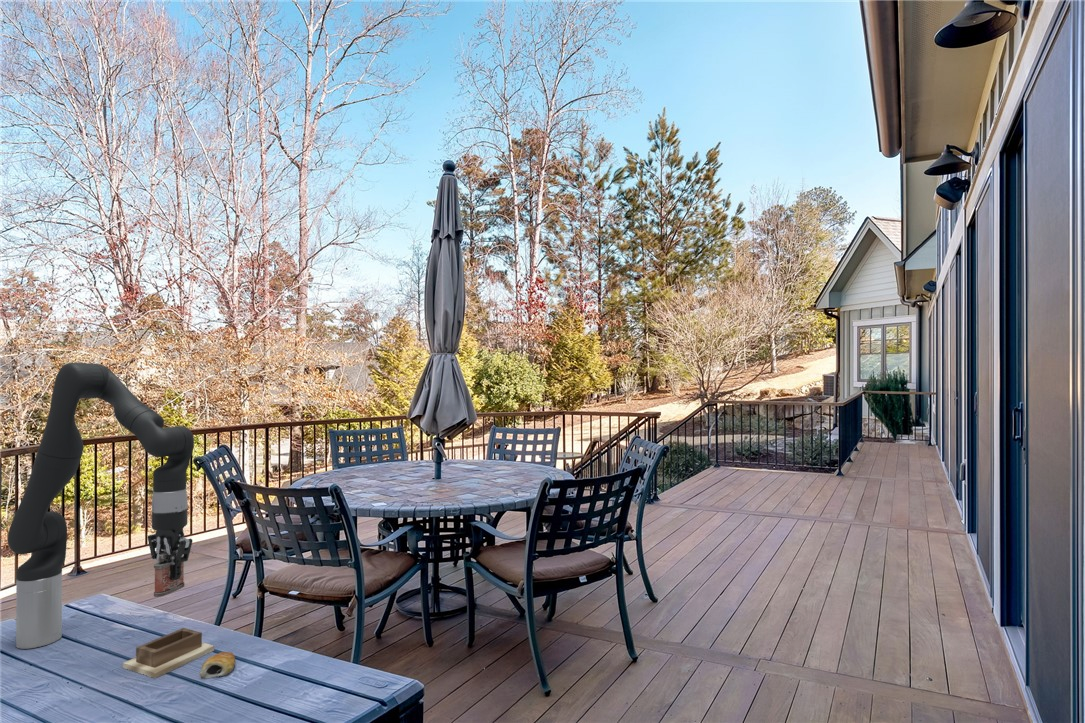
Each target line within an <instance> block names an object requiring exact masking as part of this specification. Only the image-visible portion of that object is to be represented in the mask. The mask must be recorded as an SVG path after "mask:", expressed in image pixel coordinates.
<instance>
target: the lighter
mask: <svg viewBox="0 0 1085 723" xmlns="http://www.w3.org/2000/svg"><path fill="white" fill-rule="evenodd" d="M177 550H178V549H176V550H172V552H174V551H177ZM176 556H177V554H175V559H176ZM159 561H160V562H158V563H157V562H156V563H155V564H153V569H154V591H153V597H154V598H162V597H165V596H167V595H170V594H173V593H175V592H177V591H179V590H181V589H182V588H184V587H185V581H184V580H185V579H184V577H185V575H184V573H185V571H184V570H185V569H184V566H185V565H184V564H185V562H182V563H181V577H180V578H179V579H177V580H170V565H171V563H170V557H169V556H167V551H164V553H163V554H160V555H159Z"/></svg>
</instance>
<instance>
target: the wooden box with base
mask: <svg viewBox="0 0 1085 723" xmlns="http://www.w3.org/2000/svg"><path fill="white" fill-rule="evenodd" d="M135 649H136V651H135V657H134V658H131V659H129V660H127V661H124V662H122V669H125V670H127V669H128V670H127V671H131V672H134V671H135V672H134V673H137V672H138V673H137V674H140V673H141V675H143V674H144V675H143V676H146V675H147V677H150V678H153V679H157V678H159V677H161V676H163V675H165V674H168V673H169V672H172V671H174V670H175V669H178V668H180V667H182V666H184V665H186V664H187V665H188V664H189V663H192V662H193V661H195V660H197V659H199V658H202V657H204V656H205V655H209V654H210V653H212V652H214V651H215V645H212V644H209V643H205V642H203V633H202V631H201V632H200V631H197V630H193V629H189V628H185V627H183V628H180V629H178V630H175V631H173V632H170V633H167V634H165V635H163V636H161V637H159V638H156V639H154V640H151V641H148V642H146V643H144V644H141V645H139V646H136V648H135ZM173 669H174V670H173Z"/></svg>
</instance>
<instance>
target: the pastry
mask: <svg viewBox="0 0 1085 723" xmlns="http://www.w3.org/2000/svg"><path fill="white" fill-rule="evenodd" d="M235 664H236V657H235V654H234V653H233V652H230V651H228V652H227V651H221V652H219V653H216V654H214V655H212V656H209V657H208V658H207V659H206V660H205V661H204V662H203V663H202V665H201V670H200V672H199V676H200V677H201V678H202V679H213V678H219V676H220V677H223V676H226V675H229V674H230V673H232V671H233V670H234V668H235ZM228 673H229V674H228Z"/></svg>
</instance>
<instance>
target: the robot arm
mask: <svg viewBox="0 0 1085 723" xmlns="http://www.w3.org/2000/svg"><path fill="white" fill-rule="evenodd" d="M52 389H53V390H52V395H51V402H50V406H49V410H48V411H49V413H48V416H47V420H46V424H45V427H44V431H43V433H42V438H41V441H40V443H39V446H38V449H37V452H36V454H35V455H36V456H35V459H34V462H33V466H32V468H31V469H32V470H31V473H30V476H29V479H28V482H27V485H26V488H25V491H24V494H23V495H22V498H21V501H20V503H19V506H18V507H17V510H16V512H15V514H14V516H13V519H12V521H11V523H10V526H9V529H8V532H7V533H8V534H7V542H8V547H9V549H10V550H11V551H12V552H13V553H15V554H18V555H26V554H31V553H32V555H31V556H30V557H29V558H28V559H27V560H26V561H25V562H24V563H22V564H20V566H19V567H18V568H17V569H16V573H15V574H16V578H15V579H16V583H15V584H16V587H15V588H16V590H15V591H16V592H15V593H16V596H15V597H16V600H15V601H16V602H15V603H16V606H15V646H16V648H17V649H21V650H22V649H24V650H25V649H26V650H27V649H34V648H40V647H44V646H47V645H50V644H53V643H54V642H57V641H59V640H60V639H61V638H62V633H63V632H62V631H63V628H62V626H63V625H62V624H63V616H62V615H63V566H64V563H65V561H66V557H67V555H66V554H67V544H68V541H67V540H68V526H67V522H66V519H65V517H64V516H63V515H62V514H61V513H59V512H57V511H48V510H49V508H50V506H51V504H52V503H53V501H54V500H55V498H56V497H57V496H58V495H59V494H60V493H61V491H63V489H64V488H65V487H66V486H67V485H68V484H69V482H71V480H72V479H73V478H74V476H75V475H76V474H77V471H78V469H79V466H80V463H81V460H82V459H81V458H82V456H83V452H84V442H83V438H82V435H81V433H80V431H79V429H78V426H77V424H76V412H77V411H76V410H77V406H78V404H79V401H80V399H82V400H83V399H91V400H92V399H100V400H102V401H104V402H106V403H108V404H110V405H111V406H112V408H113V413H114V417H115V418H116V421H117V422H118V423H119V424H120V425H121V426H122V427H124V429H126V430H127V431H129V432H131V433H132V434H133V435H135V437H136V439H137V440H138V442H139V444H140V445H141V446H142V447H143V450H144V451H145V452H146V453H147V454H148V455H150V456H153V457H155V458H165V457H166V458H167V459H166V462H165V463H164V464H163V465H160V466H158V467H156V468H155V469H154V471H153V473H152V474H153V476H152V480H153V481H152V497H151V529H152V530H153V531H155V533H154V534H149V535H148V536H147V540H148V541H147V542H148V545H149V550H150V555H151V556H150V557H151V559H152V560H155V561H156V563H158V562H160V561H159V555H160V554H163V553H164V551H167V556H169V557H170V563H171V565H170V580H177V579H179V578H180V577H181V563H182V562H184V563H185V562H187V561H189V556H190V553H191V548H192V545H193V539H192V538H187V537H185V533H184V528H185V527H186V526H187V525H188V494H187V493H188V491H187V472H188V471H187V470H188V469H189V465H190V462H191V458H192V454H193V451H194V447H195V438H194V435H193V434H194V433H193V432H192V431H191V430H190V429H189V428H188V427H186V426H183V425H178V426H169V427H164V425H165V421H164V419H163V417H162V416H161V415H160V414H159V413H157V412H156V411H155V410H154V409H152V408H151V407H150V406H148V405H146V404H145V403H143V402H142V401H141V400H139V398H137V397H136V395H135V394H133V393H132V392H131V390H130V389H129V388H128V387H127V386H126V385H125V384H124V383H123V382H122V381H121V380H120V379H119V378H118V376H117V375H116V374H115V373H114V371H113V370H111V369H110V368H109V367H107V366H106V365H103V364H100V363H92V362H91V363H88V362H68V363H65V364H64V365H62V366H61V367H60V369H59V370H58V372H57V374H56V377H55V380H54V384H53V388H52ZM176 549H178V550H177V551H174V552H172V550H176ZM175 554H177V556H176V559H175Z"/></svg>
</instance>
